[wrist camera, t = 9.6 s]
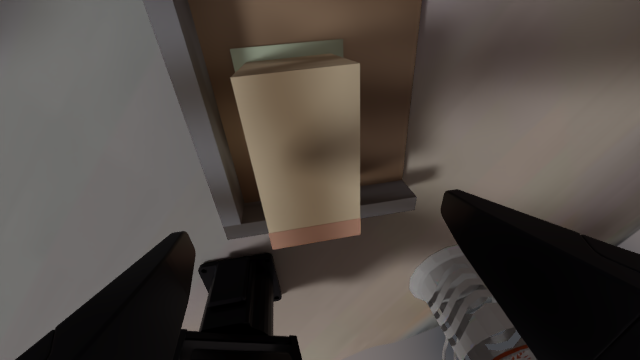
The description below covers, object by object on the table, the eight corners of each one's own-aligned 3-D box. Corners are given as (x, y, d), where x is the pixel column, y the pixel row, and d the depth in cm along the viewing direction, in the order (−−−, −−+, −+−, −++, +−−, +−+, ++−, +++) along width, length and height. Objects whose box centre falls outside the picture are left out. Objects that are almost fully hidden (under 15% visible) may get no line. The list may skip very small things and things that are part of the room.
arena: (398, 189, 22) (414, 209, 19) (233, 213, 20) (227, 239, 18) (429, -113, 13) (469, -151, 10) (133, -104, 11) (91, -144, 9)
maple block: (331, 53, 15) (360, 63, 10) (337, 181, 20) (360, 234, 14) (245, 62, 15) (229, 77, 9) (273, 191, 19) (272, 249, 14)
